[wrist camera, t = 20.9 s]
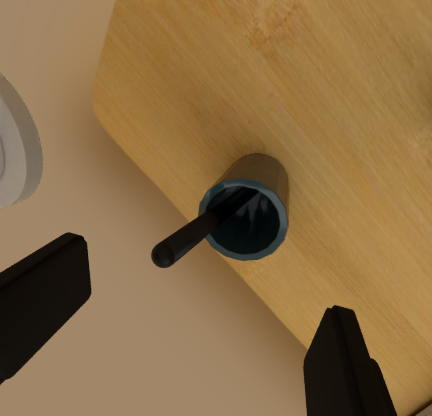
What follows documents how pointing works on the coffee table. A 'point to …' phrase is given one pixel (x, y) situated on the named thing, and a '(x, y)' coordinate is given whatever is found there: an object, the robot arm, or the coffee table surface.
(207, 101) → the coffee table surface
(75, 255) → the robot arm
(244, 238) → the pen cup
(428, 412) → the picture frame
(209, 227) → the stylus
